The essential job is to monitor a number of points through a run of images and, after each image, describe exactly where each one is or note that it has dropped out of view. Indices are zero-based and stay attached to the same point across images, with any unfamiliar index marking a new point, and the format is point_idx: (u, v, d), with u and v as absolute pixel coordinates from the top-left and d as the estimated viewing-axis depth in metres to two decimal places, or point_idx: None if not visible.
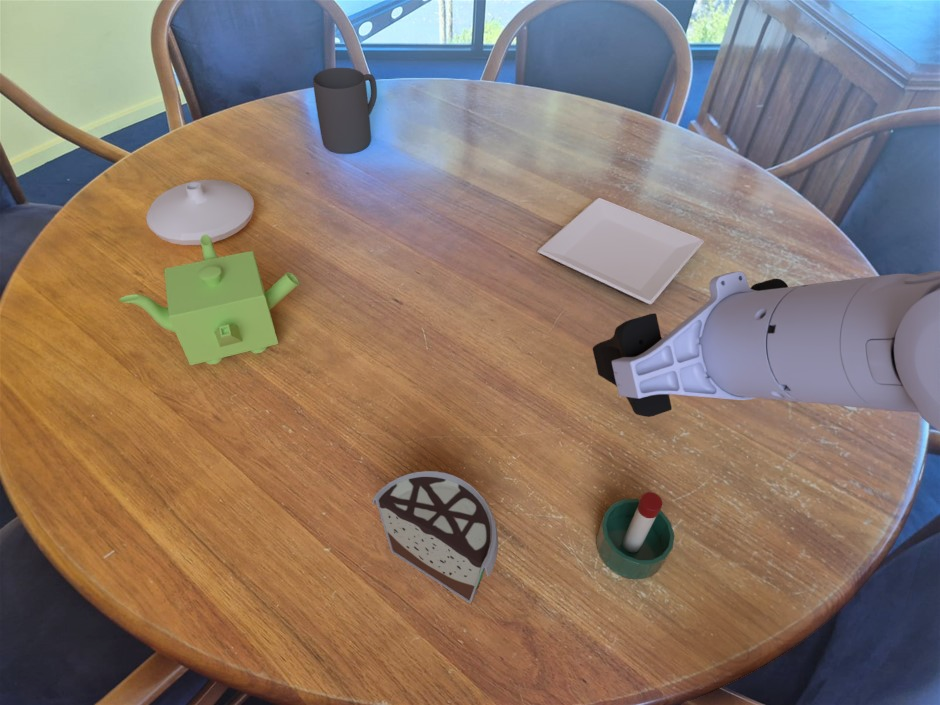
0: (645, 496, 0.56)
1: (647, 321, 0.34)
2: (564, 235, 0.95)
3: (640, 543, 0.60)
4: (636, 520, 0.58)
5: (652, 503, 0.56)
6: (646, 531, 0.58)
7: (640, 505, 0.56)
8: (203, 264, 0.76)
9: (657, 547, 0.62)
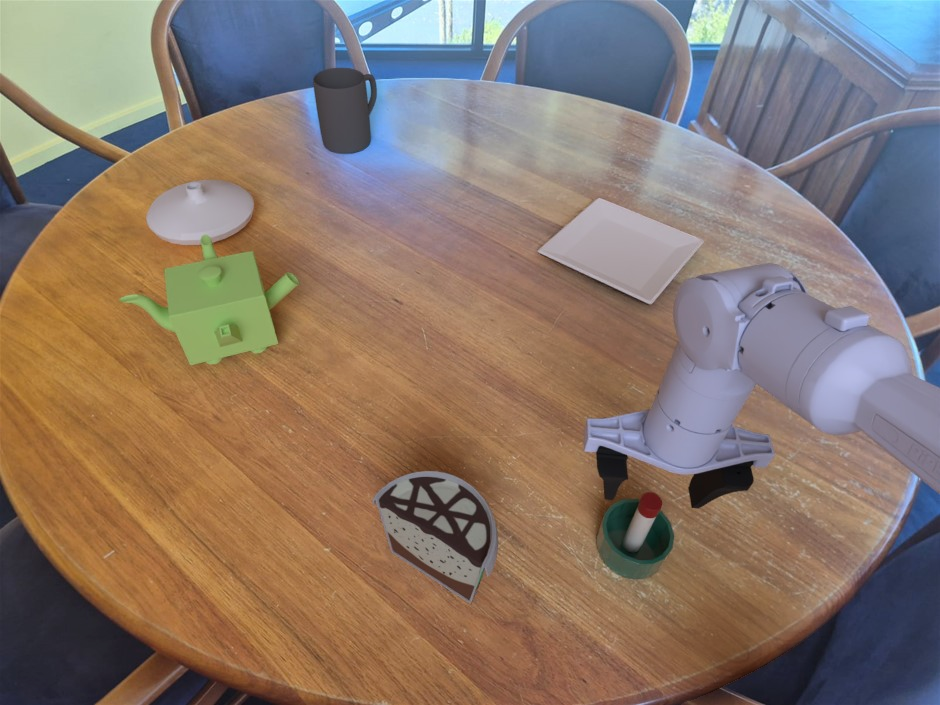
0: (645, 496, 0.56)
1: None
2: (564, 235, 0.95)
3: (640, 543, 0.60)
4: (636, 520, 0.58)
5: (652, 503, 0.56)
6: (646, 531, 0.58)
7: (640, 505, 0.56)
8: (203, 264, 0.76)
9: (657, 547, 0.62)
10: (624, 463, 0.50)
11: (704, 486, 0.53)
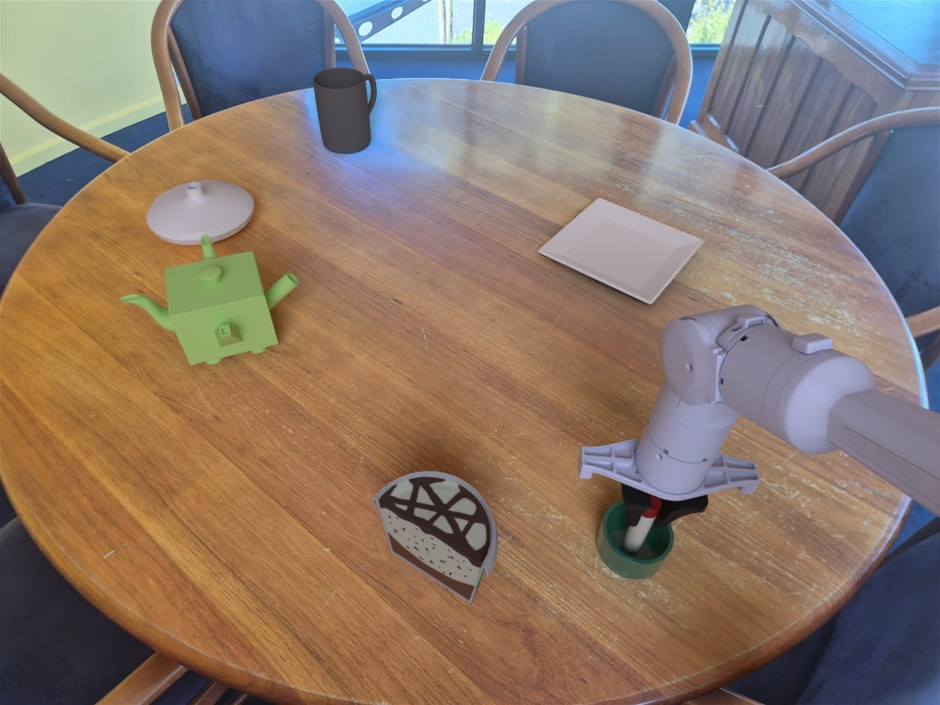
0: None
1: None
2: (564, 235, 0.95)
3: (640, 543, 0.60)
4: None
5: (652, 503, 0.56)
6: (646, 531, 0.58)
7: None
8: (203, 264, 0.76)
9: (657, 547, 0.62)
10: None
11: (664, 508, 0.55)
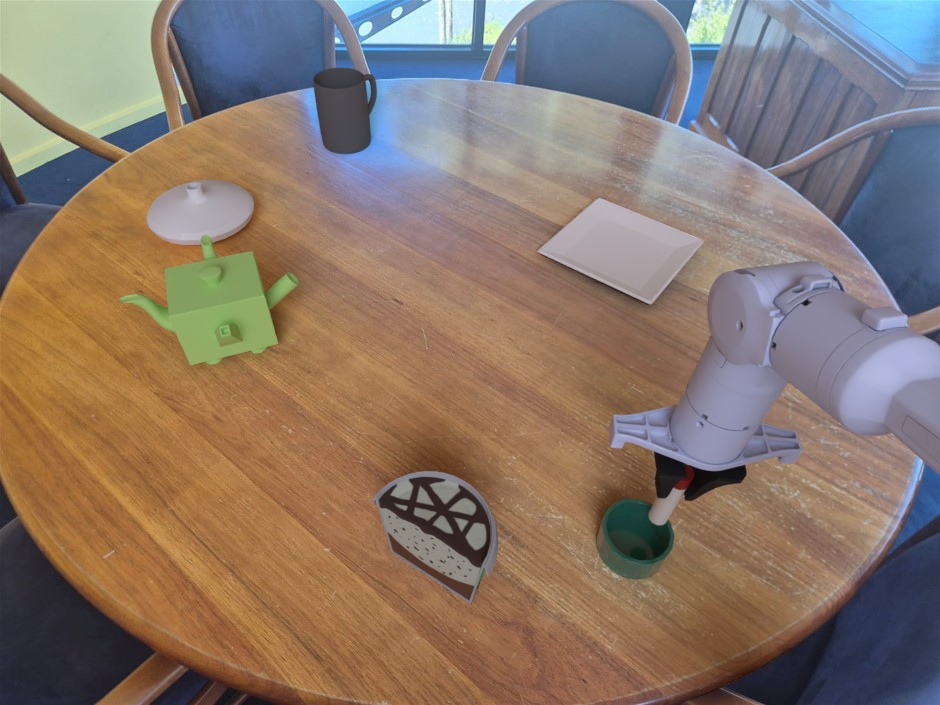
0: None
1: None
2: (564, 235, 0.95)
3: (668, 516, 0.58)
4: None
5: None
6: (675, 503, 0.56)
7: None
8: (203, 264, 0.76)
9: (657, 547, 0.62)
10: (683, 462, 0.50)
11: (697, 479, 0.53)
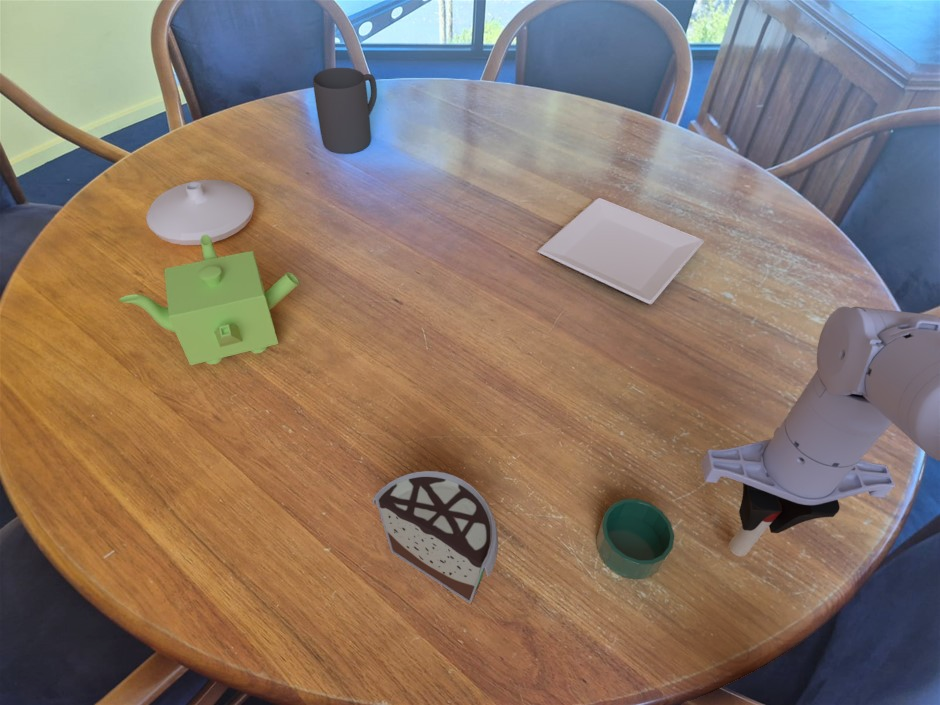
0: None
1: None
2: (564, 235, 0.95)
3: (750, 547, 0.59)
4: None
5: None
6: (760, 535, 0.57)
7: None
8: (203, 264, 0.76)
9: (657, 547, 0.62)
10: (776, 496, 0.51)
11: (786, 512, 0.54)
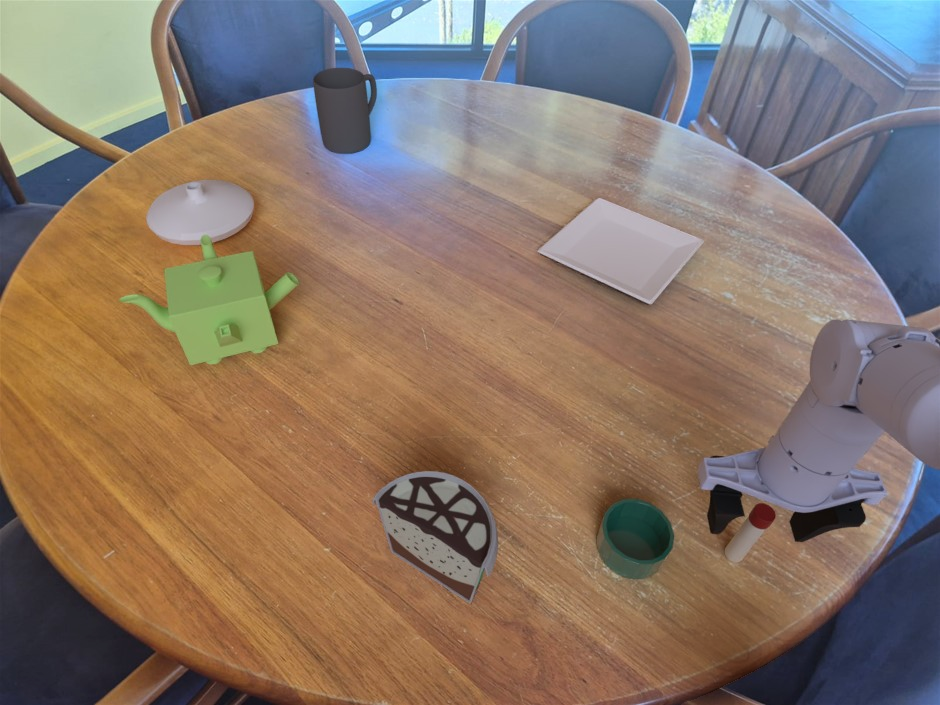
0: (757, 507, 0.56)
1: None
2: (564, 235, 0.95)
3: (745, 553, 0.60)
4: (746, 531, 0.58)
5: (766, 514, 0.56)
6: (754, 542, 0.58)
7: (753, 516, 0.56)
8: (203, 264, 0.76)
9: (657, 547, 0.62)
10: (739, 500, 0.52)
11: (811, 521, 0.55)
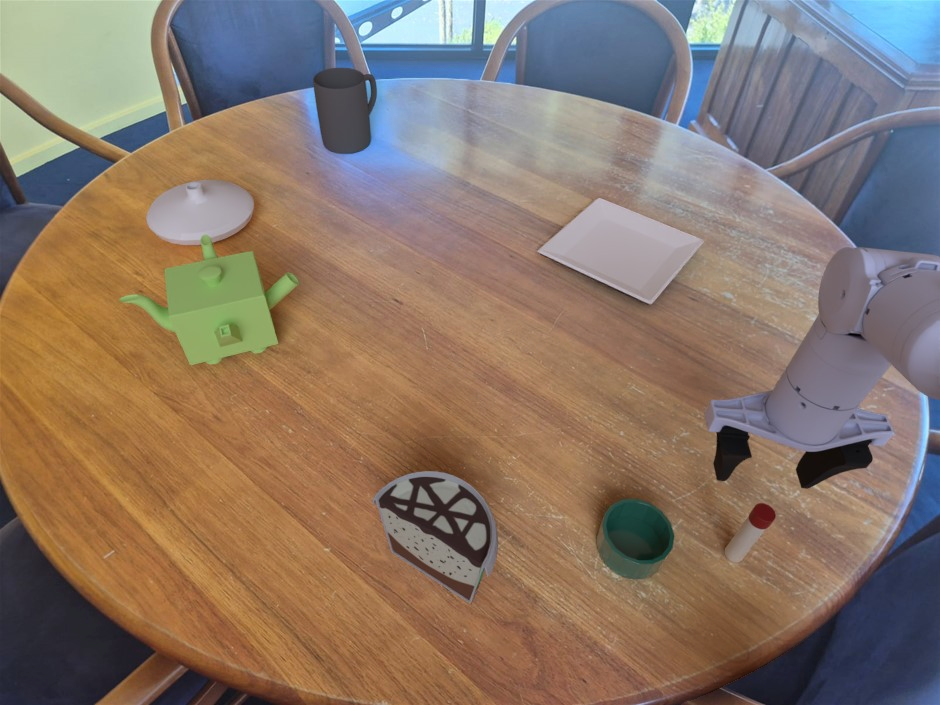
0: (757, 507, 0.56)
1: None
2: (564, 235, 0.95)
3: (745, 553, 0.60)
4: (746, 531, 0.58)
5: (766, 514, 0.56)
6: (754, 542, 0.58)
7: (753, 516, 0.56)
8: (203, 264, 0.76)
9: (657, 547, 0.62)
10: (746, 442, 0.52)
11: (817, 466, 0.55)
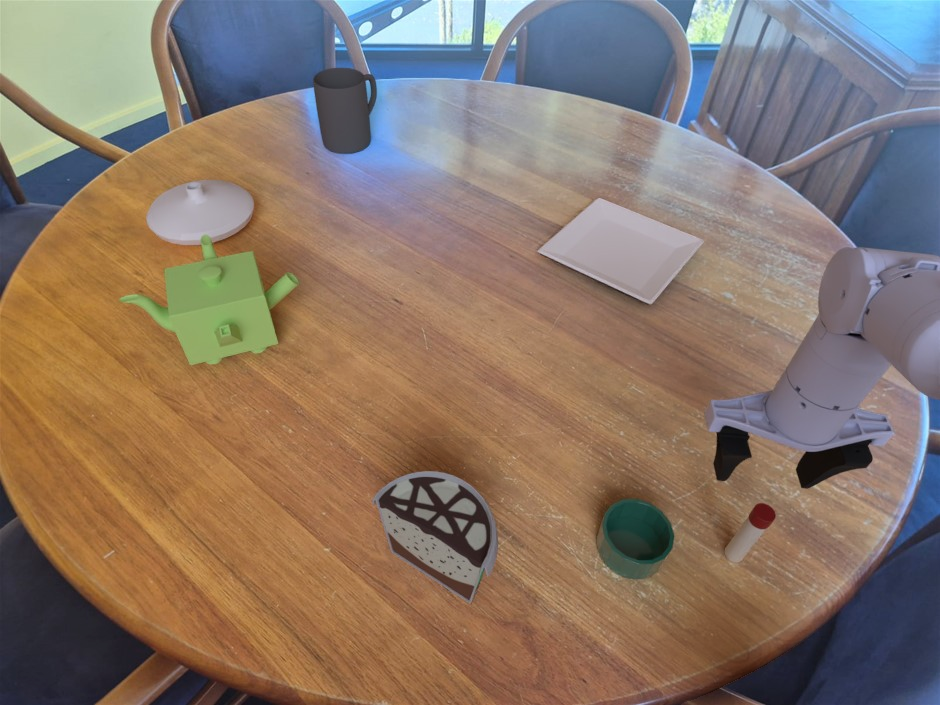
0: (757, 507, 0.56)
1: None
2: (564, 235, 0.95)
3: (745, 553, 0.60)
4: (746, 531, 0.58)
5: (766, 514, 0.56)
6: (754, 542, 0.58)
7: (753, 516, 0.56)
8: (203, 264, 0.76)
9: (657, 547, 0.62)
10: (746, 442, 0.52)
11: (817, 466, 0.55)
